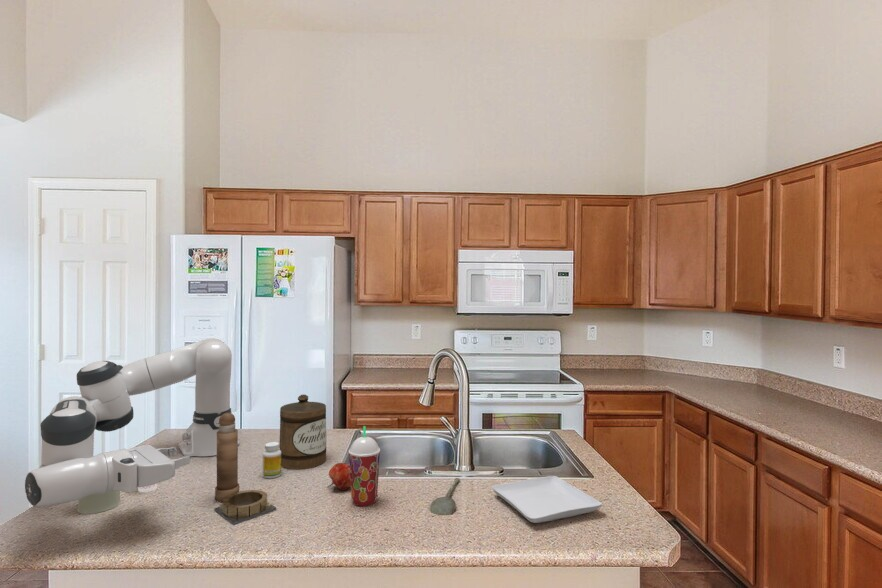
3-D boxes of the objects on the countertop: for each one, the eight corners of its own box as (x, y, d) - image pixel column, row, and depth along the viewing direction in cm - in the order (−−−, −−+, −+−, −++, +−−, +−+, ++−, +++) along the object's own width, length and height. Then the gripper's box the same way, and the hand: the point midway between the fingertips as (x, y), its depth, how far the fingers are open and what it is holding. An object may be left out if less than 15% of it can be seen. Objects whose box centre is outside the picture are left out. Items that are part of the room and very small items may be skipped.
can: (127, 503, 127) (127, 458, 127) (87, 517, 119) (87, 469, 119) (109, 495, 131) (109, 452, 131) (70, 508, 123) (70, 462, 123)
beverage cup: (136, 495, 131) (136, 444, 131) (133, 488, 136) (133, 439, 136) (162, 489, 135) (162, 440, 135) (158, 483, 140) (158, 435, 140)
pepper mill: (211, 497, 130) (211, 413, 130) (233, 491, 134) (233, 409, 134) (220, 504, 126) (220, 417, 126) (243, 497, 130) (243, 412, 130)
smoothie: (385, 496, 131) (385, 423, 131) (372, 510, 123) (372, 432, 123) (356, 493, 133) (356, 421, 133) (342, 506, 125) (342, 429, 125)
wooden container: (302, 473, 148) (302, 401, 148) (269, 464, 155) (269, 396, 155) (335, 458, 161) (335, 393, 161) (303, 451, 168) (303, 388, 168)
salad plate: (489, 496, 132) (489, 484, 132) (555, 485, 139) (555, 473, 139) (530, 532, 112) (530, 518, 112) (604, 517, 120) (604, 503, 120)
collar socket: (214, 510, 122) (214, 498, 122) (256, 497, 130) (256, 486, 130) (233, 525, 115) (233, 512, 115) (276, 509, 123) (276, 498, 123)
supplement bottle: (260, 474, 146) (260, 443, 146) (277, 470, 150) (277, 440, 150) (266, 480, 142) (266, 448, 142) (284, 476, 146) (284, 444, 146)
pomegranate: (329, 501, 133) (357, 481, 132) (314, 479, 134) (342, 458, 133) (339, 493, 140) (366, 474, 139) (326, 472, 141) (352, 452, 141)
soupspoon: (426, 518, 121) (451, 522, 119) (427, 505, 121) (452, 509, 119) (447, 481, 142) (468, 484, 141) (447, 470, 142) (469, 473, 140)
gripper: (107, 471, 119) (168, 457, 129) (130, 495, 105) (197, 477, 115) (107, 446, 119) (168, 434, 129) (130, 466, 105) (197, 451, 115)
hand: (182, 454), depth 122 cm, fingers open, 8 cm apart
